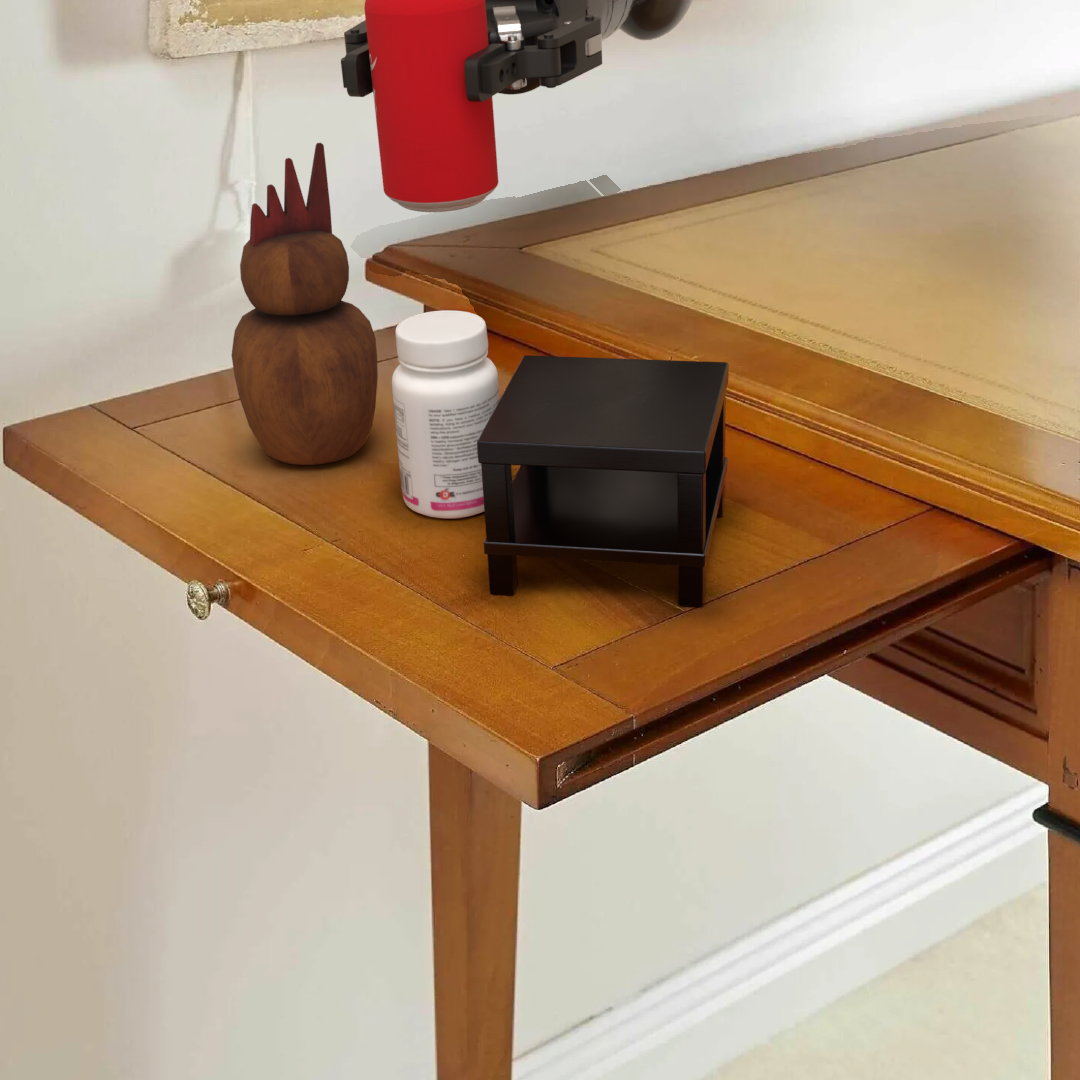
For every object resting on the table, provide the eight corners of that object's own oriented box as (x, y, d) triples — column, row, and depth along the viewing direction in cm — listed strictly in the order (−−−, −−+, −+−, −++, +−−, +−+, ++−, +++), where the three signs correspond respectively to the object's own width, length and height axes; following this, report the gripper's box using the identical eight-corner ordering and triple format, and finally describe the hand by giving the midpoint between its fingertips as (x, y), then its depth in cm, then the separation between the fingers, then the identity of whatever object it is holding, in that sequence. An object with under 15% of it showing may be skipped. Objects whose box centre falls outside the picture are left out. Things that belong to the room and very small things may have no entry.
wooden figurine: (386, 423, 83) (358, 128, 76) (384, 473, 78) (353, 162, 71) (252, 432, 83) (211, 137, 75) (241, 482, 78) (196, 171, 70)
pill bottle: (524, 484, 76) (515, 314, 72) (473, 529, 72) (460, 352, 68) (436, 467, 78) (422, 300, 74) (383, 510, 74) (365, 336, 70)
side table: (727, 506, 73) (728, 361, 70) (704, 609, 65) (705, 451, 62) (531, 496, 75) (523, 354, 72) (486, 595, 67) (476, 441, 64)
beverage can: (484, 177, 92) (468, -47, 86) (511, 208, 86) (496, -29, 81) (375, 191, 90) (351, -35, 85) (395, 223, 85) (372, -16, 79)
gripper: (416, -54, 97) (277, 1, 84) (646, -53, 92) (538, 6, 79) (427, 74, 101) (296, 146, 87) (649, 81, 96) (546, 159, 82)
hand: (411, 79), depth 83 cm, fingers closed on beverage can, 6 cm apart
